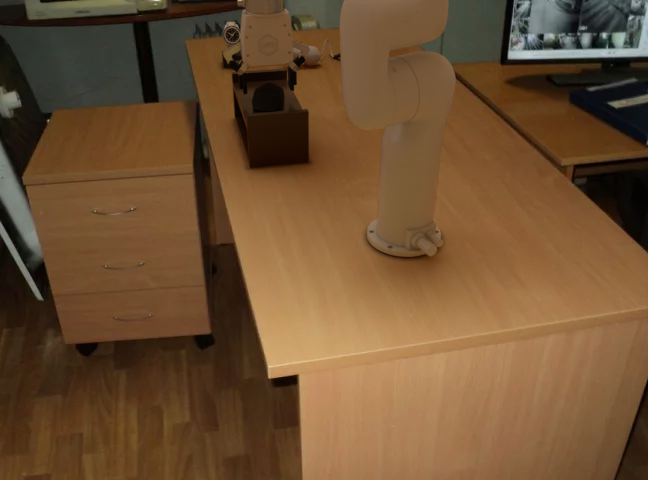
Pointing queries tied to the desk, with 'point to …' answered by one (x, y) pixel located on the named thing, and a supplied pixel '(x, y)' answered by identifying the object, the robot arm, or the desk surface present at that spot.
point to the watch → (231, 41)
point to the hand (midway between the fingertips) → (268, 90)
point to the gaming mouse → (268, 97)
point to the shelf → (271, 123)
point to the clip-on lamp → (313, 54)
